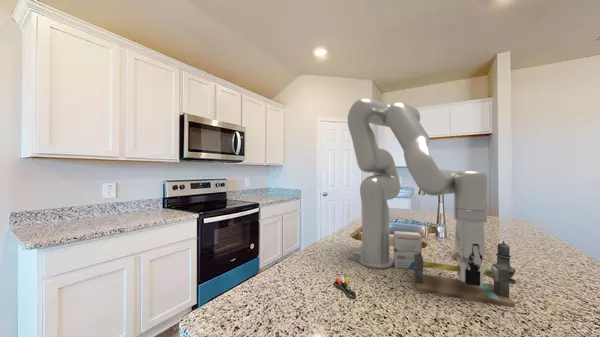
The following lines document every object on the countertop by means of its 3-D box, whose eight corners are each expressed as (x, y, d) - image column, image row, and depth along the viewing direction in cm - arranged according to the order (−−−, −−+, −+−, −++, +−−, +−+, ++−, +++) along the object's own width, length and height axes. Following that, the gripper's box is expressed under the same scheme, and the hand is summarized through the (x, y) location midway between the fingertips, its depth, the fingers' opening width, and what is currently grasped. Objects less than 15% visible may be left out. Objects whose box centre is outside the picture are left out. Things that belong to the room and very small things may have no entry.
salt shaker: (520, 284, 72) (521, 244, 72) (498, 282, 73) (498, 242, 73) (508, 276, 78) (508, 238, 78) (487, 274, 79) (487, 237, 79)
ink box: (419, 265, 86) (419, 232, 86) (421, 270, 82) (421, 235, 82) (393, 262, 89) (393, 230, 89) (394, 267, 84) (394, 233, 84)
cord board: (416, 291, 68) (416, 262, 68) (413, 276, 77) (413, 251, 77) (514, 307, 60) (514, 275, 60) (498, 288, 69) (498, 260, 69)
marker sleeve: (461, 281, 66) (461, 262, 66) (457, 274, 71) (457, 257, 71) (483, 284, 65) (483, 265, 65) (477, 277, 69) (477, 259, 69)
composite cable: (358, 299, 64) (358, 290, 64) (340, 300, 63) (340, 291, 63) (346, 282, 74) (346, 274, 74) (331, 283, 73) (331, 274, 73)
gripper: (448, 209, 77) (447, 267, 77) (462, 219, 61) (462, 292, 61) (476, 211, 74) (476, 270, 74) (499, 222, 58) (498, 298, 58)
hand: (469, 279), depth 68 cm, fingers closed on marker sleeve, 4 cm apart
